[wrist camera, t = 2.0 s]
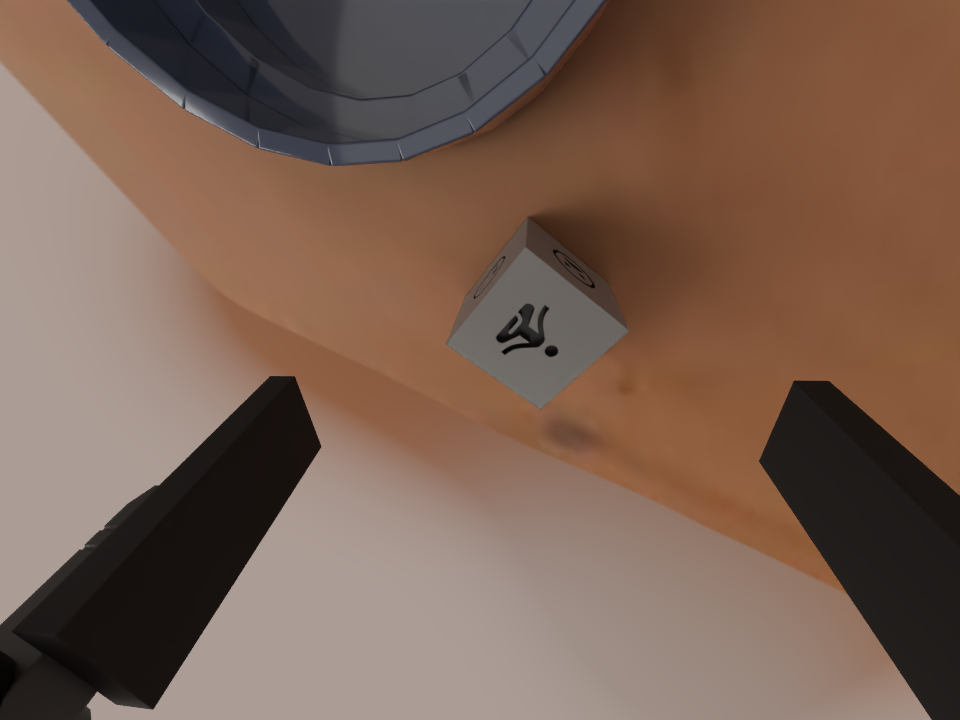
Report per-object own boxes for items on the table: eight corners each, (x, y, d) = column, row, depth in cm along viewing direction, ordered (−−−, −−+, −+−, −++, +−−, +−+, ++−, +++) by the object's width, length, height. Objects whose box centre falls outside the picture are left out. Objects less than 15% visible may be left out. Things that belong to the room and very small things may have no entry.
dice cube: (528, 216, 17) (525, 247, 13) (608, 283, 19) (629, 330, 14) (465, 297, 20) (445, 344, 16) (539, 351, 21) (540, 409, 17)
